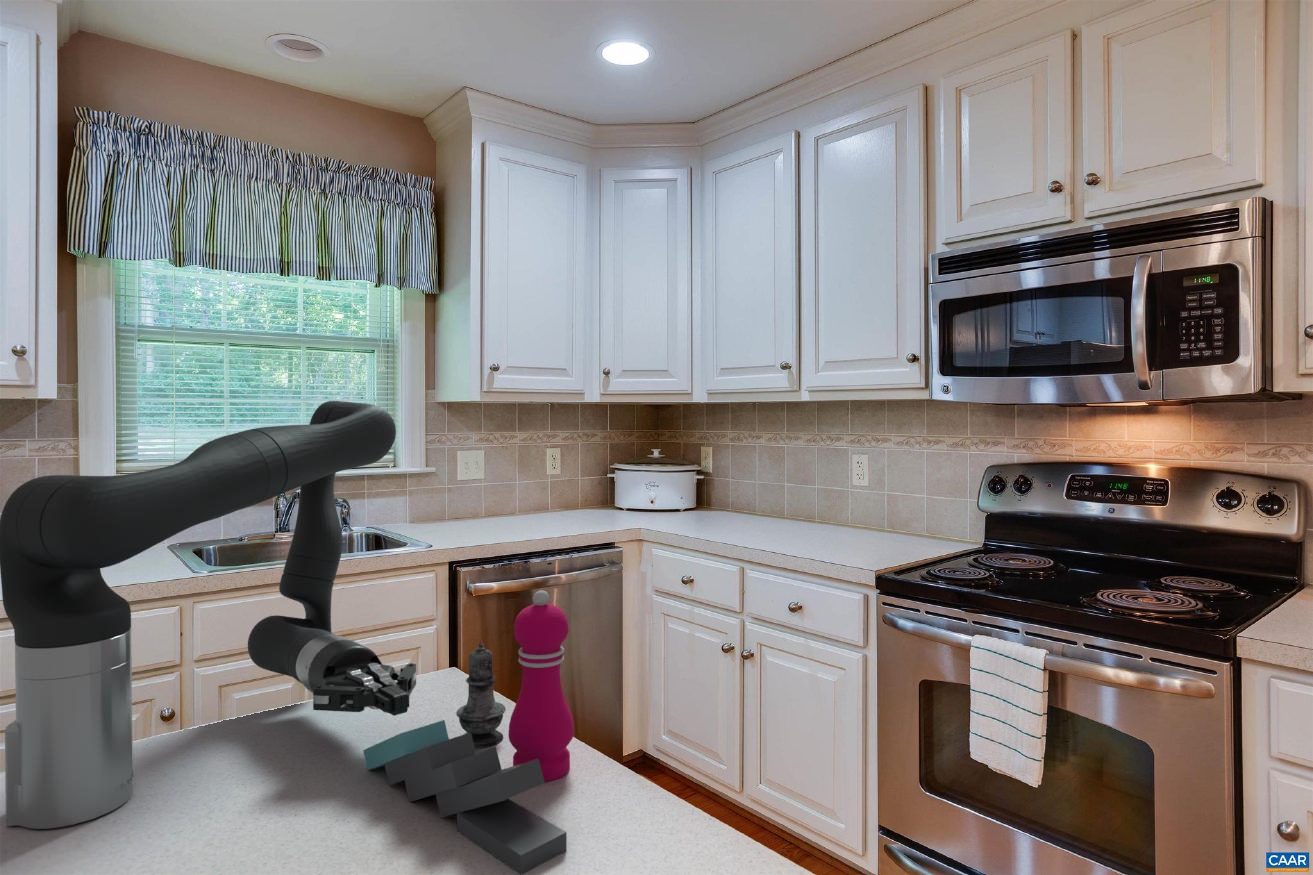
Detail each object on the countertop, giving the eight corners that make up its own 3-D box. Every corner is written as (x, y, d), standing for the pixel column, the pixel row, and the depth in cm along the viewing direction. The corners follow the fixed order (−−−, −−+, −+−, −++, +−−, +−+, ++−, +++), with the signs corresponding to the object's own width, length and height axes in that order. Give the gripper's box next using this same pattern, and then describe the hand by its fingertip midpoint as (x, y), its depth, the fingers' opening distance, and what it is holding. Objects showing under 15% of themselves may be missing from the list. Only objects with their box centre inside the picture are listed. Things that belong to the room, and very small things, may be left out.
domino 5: (457, 813, 71) (520, 855, 64) (501, 794, 74) (566, 832, 67) (457, 836, 71) (521, 880, 64) (501, 816, 74) (566, 856, 67)
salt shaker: (477, 753, 87) (477, 651, 87) (446, 741, 91) (445, 642, 91) (515, 737, 92) (515, 640, 92) (484, 725, 96) (484, 632, 96)
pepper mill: (587, 765, 85) (587, 588, 84) (545, 791, 78) (544, 600, 78) (538, 750, 88) (538, 581, 88) (494, 774, 82) (494, 592, 82)
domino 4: (435, 793, 73) (497, 775, 68) (476, 777, 77) (538, 758, 72) (440, 817, 73) (504, 800, 67) (481, 799, 77) (544, 782, 71)
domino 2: (384, 764, 80) (426, 747, 74) (427, 749, 84) (470, 732, 77) (388, 785, 79) (431, 770, 73) (431, 769, 83) (476, 753, 77)
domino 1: (363, 749, 84) (400, 733, 78) (405, 736, 87) (444, 719, 81) (367, 770, 83) (405, 755, 77) (409, 756, 87) (449, 740, 80)
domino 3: (404, 779, 77) (450, 763, 71) (448, 763, 81) (495, 746, 74) (409, 802, 76) (456, 787, 70) (453, 785, 80) (501, 769, 74)
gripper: (281, 650, 90) (341, 685, 78) (387, 629, 99) (455, 658, 87) (282, 712, 90) (341, 757, 78) (387, 685, 100) (455, 722, 87)
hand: (401, 704), depth 83 cm, fingers closed
